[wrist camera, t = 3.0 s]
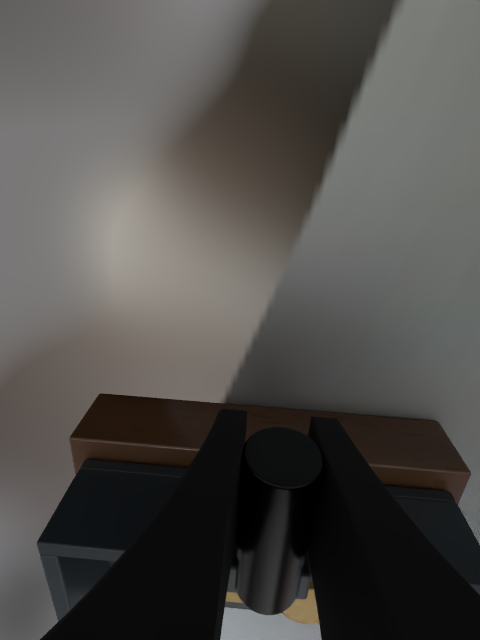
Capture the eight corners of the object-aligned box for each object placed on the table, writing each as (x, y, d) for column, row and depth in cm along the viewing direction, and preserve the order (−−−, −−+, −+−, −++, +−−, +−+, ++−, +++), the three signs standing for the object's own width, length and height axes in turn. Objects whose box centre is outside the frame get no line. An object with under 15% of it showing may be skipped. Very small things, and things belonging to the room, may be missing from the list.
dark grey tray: (399, 613, 15) (445, 771, 11) (105, 584, 15) (53, 728, 11) (497, 380, 10) (637, 519, 6) (65, 346, 10) (-47, 458, 7)
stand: (392, 550, 17) (412, 611, 15) (116, 524, 17) (94, 579, 15) (438, 420, 14) (472, 473, 12) (99, 392, 14) (67, 437, 12)
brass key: (343, 573, 13) (347, 591, 13) (333, 609, 14) (336, 627, 14) (188, 558, 13) (185, 575, 13) (189, 595, 14) (186, 612, 14)
